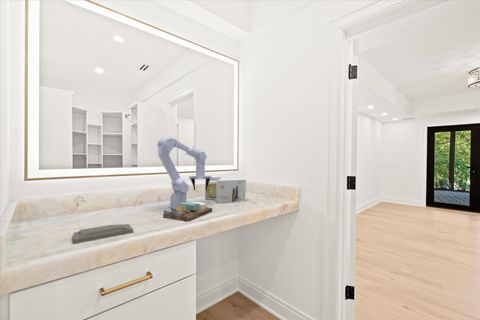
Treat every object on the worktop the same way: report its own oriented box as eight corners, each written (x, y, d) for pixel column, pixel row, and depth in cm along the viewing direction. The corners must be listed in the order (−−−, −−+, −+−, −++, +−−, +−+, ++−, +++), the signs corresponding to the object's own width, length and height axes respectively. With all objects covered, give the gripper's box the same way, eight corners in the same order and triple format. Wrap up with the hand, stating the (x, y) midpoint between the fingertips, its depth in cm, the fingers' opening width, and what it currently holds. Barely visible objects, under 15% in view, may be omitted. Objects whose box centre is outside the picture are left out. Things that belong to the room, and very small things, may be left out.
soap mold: (133, 234, 91) (133, 225, 91) (73, 246, 79) (73, 236, 79) (128, 227, 99) (128, 220, 99) (72, 237, 87) (72, 228, 87)
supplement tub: (202, 198, 167) (202, 176, 167) (215, 196, 175) (215, 175, 175) (211, 201, 158) (211, 177, 158) (224, 198, 166) (224, 176, 166)
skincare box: (218, 203, 148) (218, 180, 148) (215, 202, 153) (215, 179, 153) (246, 201, 158) (246, 179, 158) (242, 199, 163) (242, 178, 163)
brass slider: (176, 214, 112) (176, 206, 112) (181, 212, 116) (181, 204, 116) (181, 214, 111) (181, 206, 111) (186, 213, 114) (186, 205, 114)
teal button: (178, 208, 120) (178, 203, 120) (184, 206, 125) (184, 201, 125) (193, 209, 116) (193, 205, 116) (199, 208, 121) (199, 203, 121)
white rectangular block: (188, 207, 127) (188, 203, 127) (193, 205, 132) (193, 201, 132) (202, 209, 123) (202, 204, 123) (207, 207, 128) (207, 203, 128)
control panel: (163, 217, 114) (163, 210, 114) (189, 208, 134) (189, 202, 134) (188, 221, 107) (188, 214, 107) (212, 211, 127) (212, 205, 127)
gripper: (189, 170, 141) (189, 191, 141) (212, 169, 145) (212, 190, 145) (189, 169, 148) (188, 189, 148) (210, 169, 152) (210, 188, 152)
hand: (200, 189), depth 147 cm, fingers open, 7 cm apart
